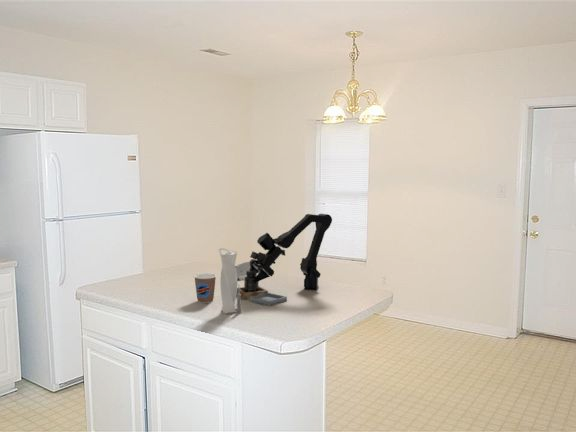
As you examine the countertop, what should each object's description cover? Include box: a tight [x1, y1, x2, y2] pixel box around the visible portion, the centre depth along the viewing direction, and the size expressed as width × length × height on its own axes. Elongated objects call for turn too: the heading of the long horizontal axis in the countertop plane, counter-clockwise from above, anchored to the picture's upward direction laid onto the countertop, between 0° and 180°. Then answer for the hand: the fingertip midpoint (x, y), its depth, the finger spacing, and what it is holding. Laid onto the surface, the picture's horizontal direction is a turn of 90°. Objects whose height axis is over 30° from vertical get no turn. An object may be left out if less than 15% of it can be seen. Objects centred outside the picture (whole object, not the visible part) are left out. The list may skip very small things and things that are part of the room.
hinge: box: [235, 261, 259, 282], centre depth 287 cm, size 17×5×10 cm, turn 132°
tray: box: [249, 292, 288, 307], centre depth 237 cm, size 12×12×2 cm
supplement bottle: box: [243, 270, 260, 293], centre depth 247 cm, size 7×7×12 cm
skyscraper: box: [218, 247, 243, 316], centre depth 218 cm, size 8×8×28 cm
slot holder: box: [237, 285, 269, 301], centre depth 247 cm, size 12×12×3 cm
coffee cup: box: [193, 273, 217, 304], centre depth 236 cm, size 10×10×12 cm
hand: (250, 280), depth 246 cm, fingers open, 9 cm apart
